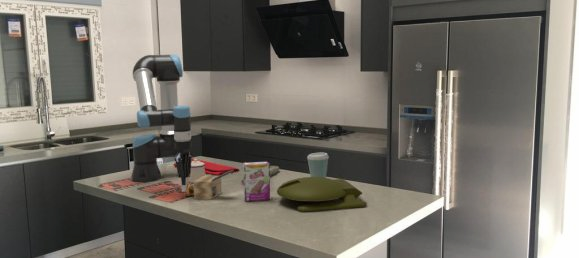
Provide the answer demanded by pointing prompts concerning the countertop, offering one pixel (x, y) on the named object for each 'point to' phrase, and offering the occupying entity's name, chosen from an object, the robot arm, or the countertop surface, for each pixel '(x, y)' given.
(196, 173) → the teacup with lid
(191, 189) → the lynch pin
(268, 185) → the candy bar box
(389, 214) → the countertop surface
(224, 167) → the red long flat piece
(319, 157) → the disposable coffee cup
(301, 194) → the spaceship
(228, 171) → the plate
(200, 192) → the oak block
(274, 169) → the long grey stone
